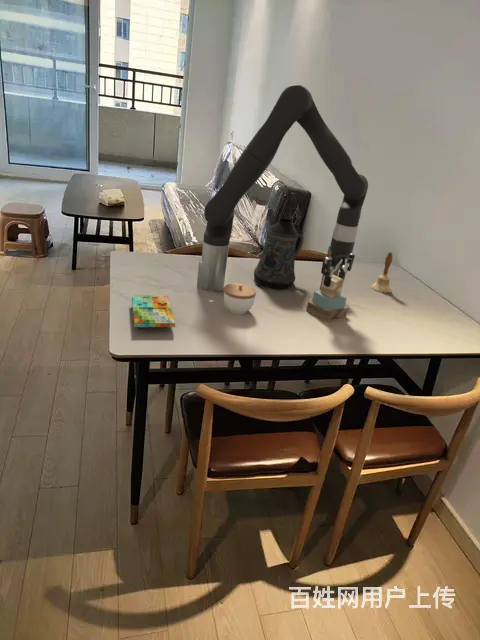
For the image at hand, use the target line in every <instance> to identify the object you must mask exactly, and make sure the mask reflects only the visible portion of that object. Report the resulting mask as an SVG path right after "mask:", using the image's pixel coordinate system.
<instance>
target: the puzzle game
mask: <svg viewBox="0 0 480 640" xmlns="http://www.w3.org/2000/svg"><path fill="white" fill-rule="evenodd" d="M131 304H132V305H131V306H132V318H133V319H132V321H133V327H134V328H137V327H169V328H175V327H176V321H175V318H174V313H173V309H172V305H171V300H170V297H169V295H154V294H153V295H151V294H150V295H149V294H147V295H146V294H132V295H131Z"/></svg>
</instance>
